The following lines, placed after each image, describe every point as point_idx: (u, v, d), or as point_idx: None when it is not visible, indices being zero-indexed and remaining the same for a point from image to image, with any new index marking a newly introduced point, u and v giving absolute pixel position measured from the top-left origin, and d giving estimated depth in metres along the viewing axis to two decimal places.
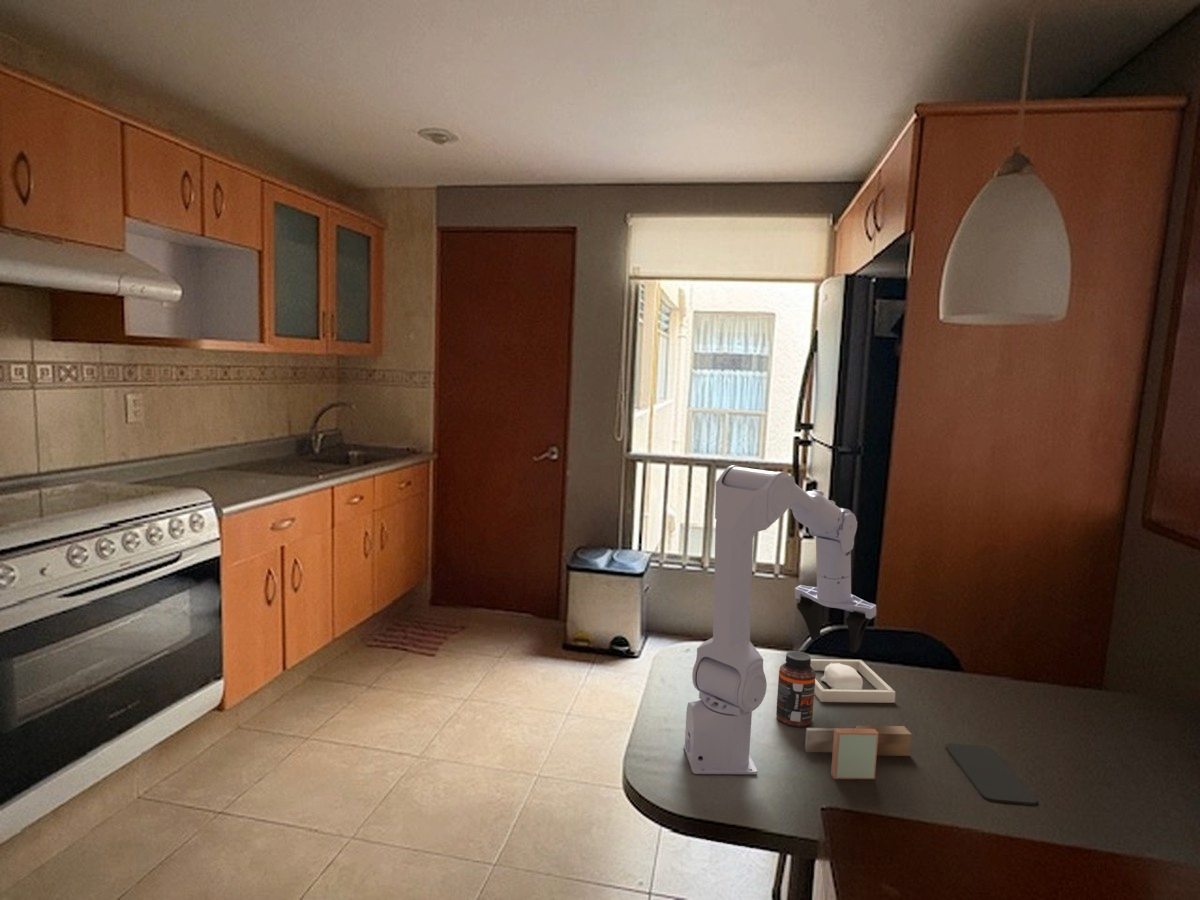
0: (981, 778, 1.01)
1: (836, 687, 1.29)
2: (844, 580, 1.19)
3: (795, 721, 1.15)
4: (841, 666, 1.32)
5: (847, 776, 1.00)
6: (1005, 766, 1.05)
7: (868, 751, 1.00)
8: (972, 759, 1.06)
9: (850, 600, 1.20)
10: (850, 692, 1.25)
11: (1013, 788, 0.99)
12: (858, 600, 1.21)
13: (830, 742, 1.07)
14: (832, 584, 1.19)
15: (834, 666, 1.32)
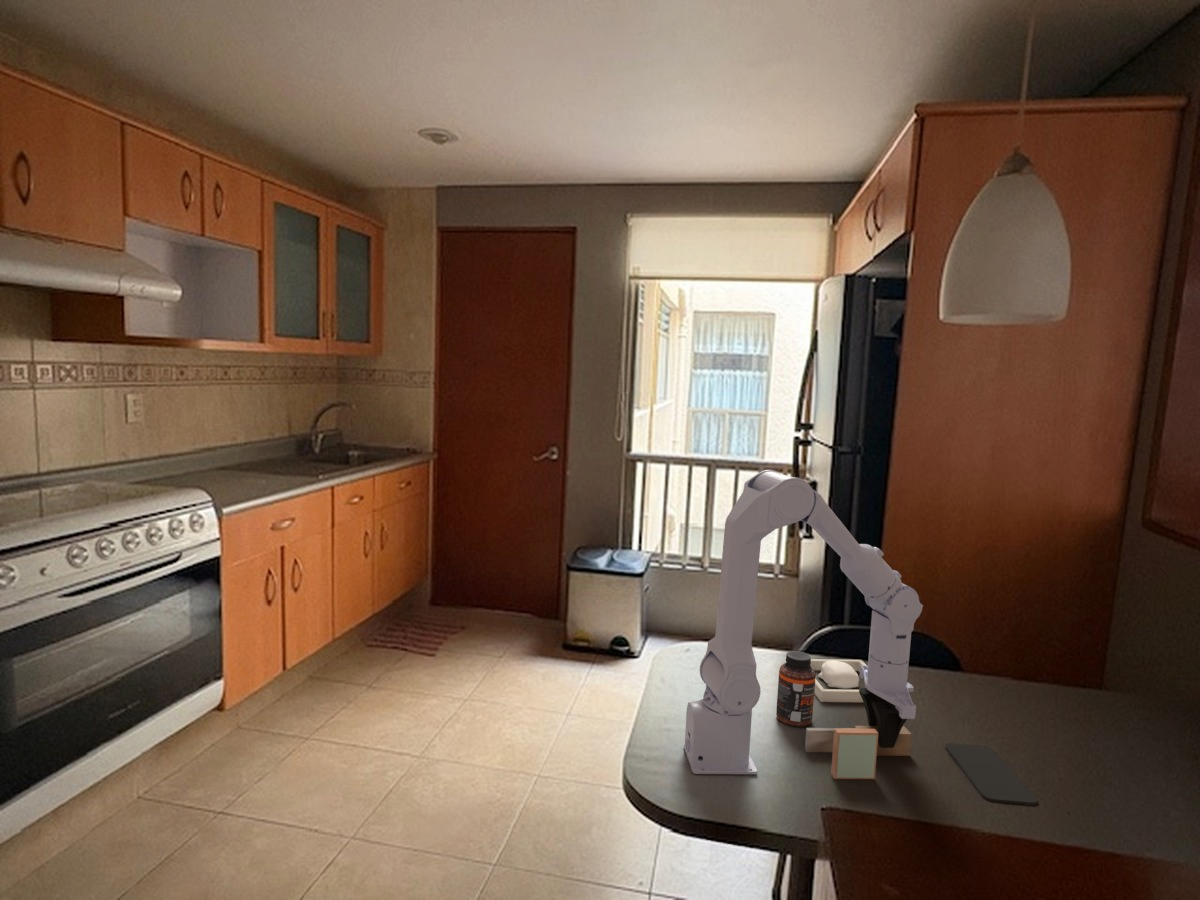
0: (981, 778, 1.01)
1: (832, 683, 1.31)
2: (889, 666, 1.04)
3: (795, 721, 1.15)
4: (838, 663, 1.34)
5: (847, 776, 1.00)
6: (1005, 765, 1.05)
7: (868, 751, 1.00)
8: (972, 759, 1.06)
9: (896, 693, 1.04)
10: (850, 692, 1.25)
11: (1013, 788, 0.99)
12: (907, 698, 1.04)
13: (830, 742, 1.07)
14: (875, 666, 1.06)
15: (831, 663, 1.34)
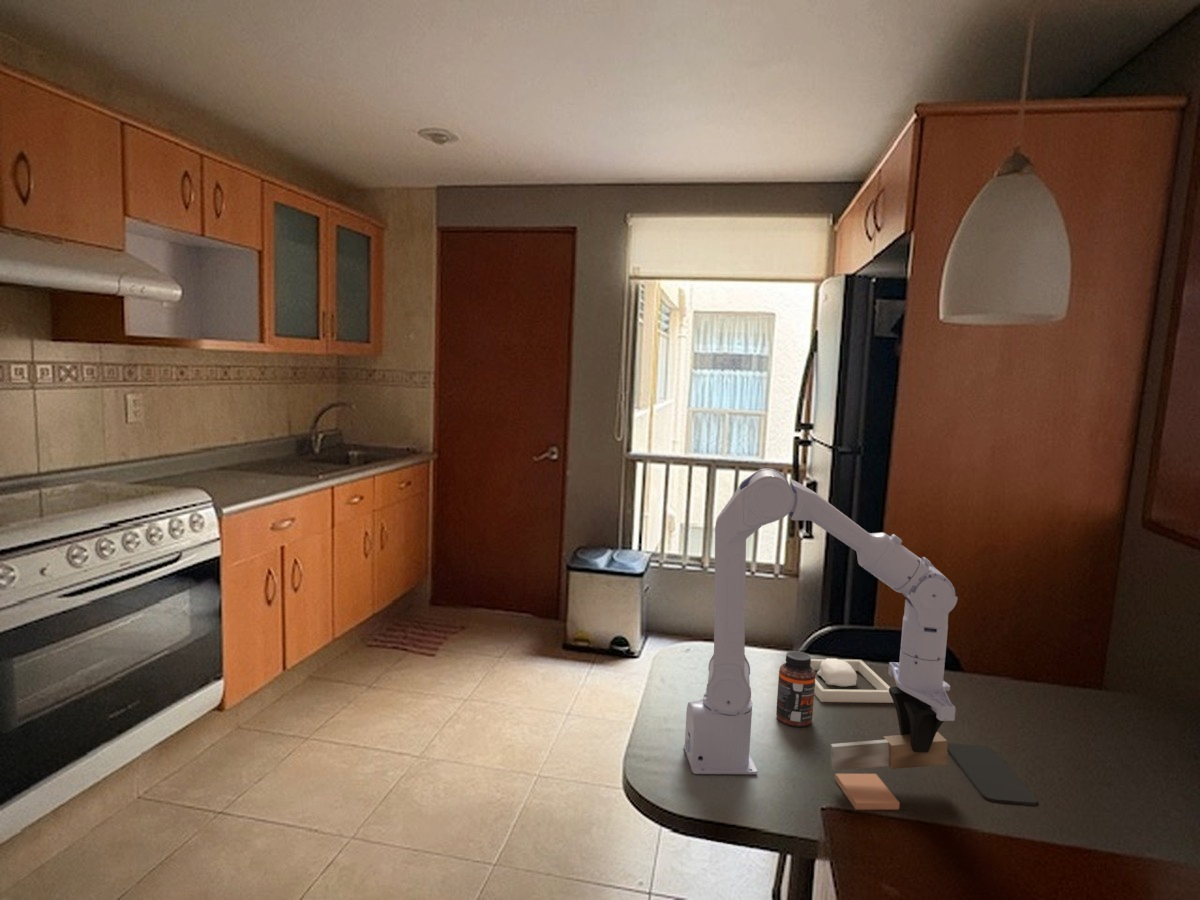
0: (981, 778, 1.01)
1: (830, 681, 1.32)
2: (924, 662, 0.94)
3: (795, 721, 1.15)
4: (836, 661, 1.35)
5: None
6: (1005, 765, 1.05)
7: None
8: (972, 759, 1.06)
9: (932, 692, 0.94)
10: (850, 692, 1.25)
11: (1013, 788, 0.99)
12: (944, 697, 0.94)
13: (859, 758, 0.98)
14: (908, 662, 0.96)
15: (829, 661, 1.35)
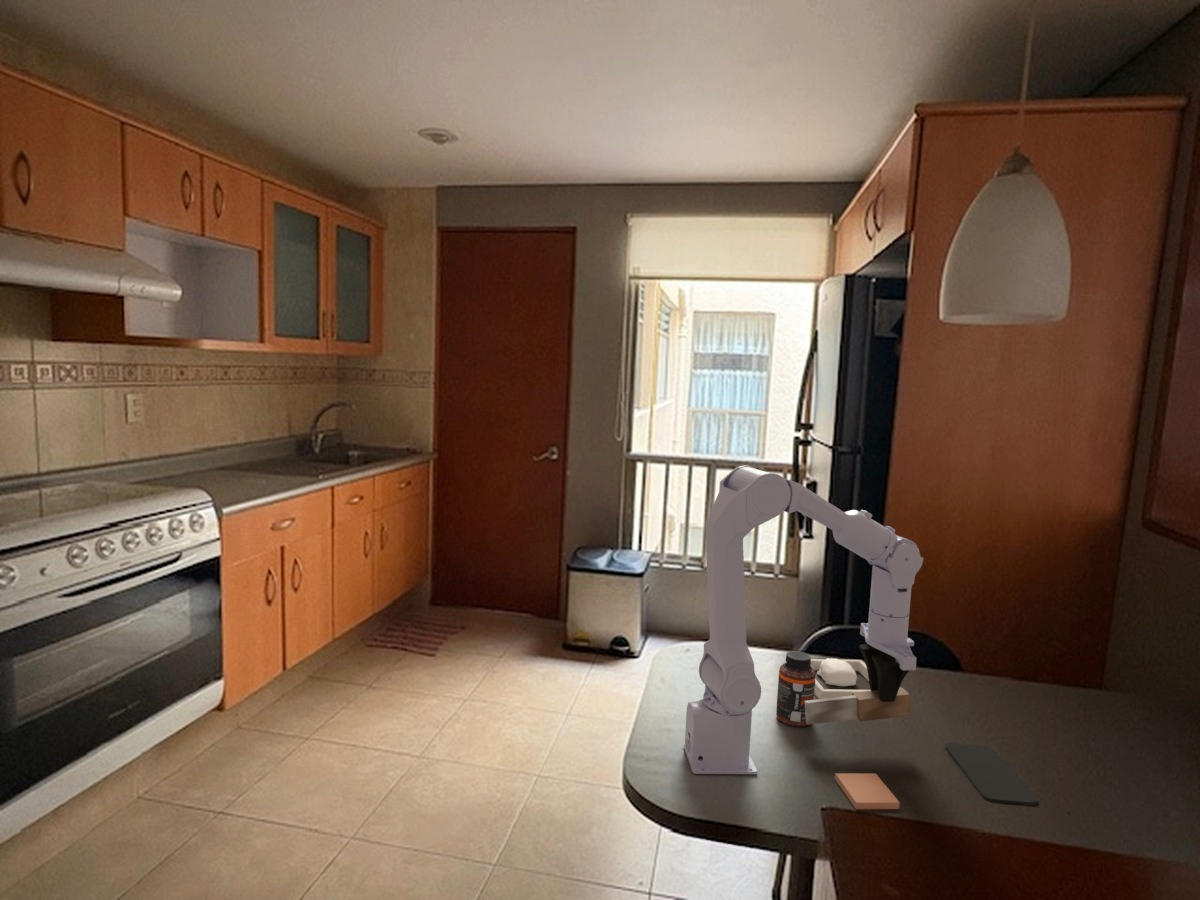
0: (981, 778, 1.01)
1: (829, 681, 1.32)
2: (889, 619, 1.05)
3: (795, 721, 1.15)
4: (836, 661, 1.35)
5: None
6: (1005, 765, 1.05)
7: None
8: (972, 759, 1.06)
9: (896, 646, 1.05)
10: (850, 692, 1.25)
11: (1013, 788, 0.99)
12: (908, 651, 1.04)
13: (830, 712, 1.08)
14: (875, 620, 1.06)
15: (829, 661, 1.35)
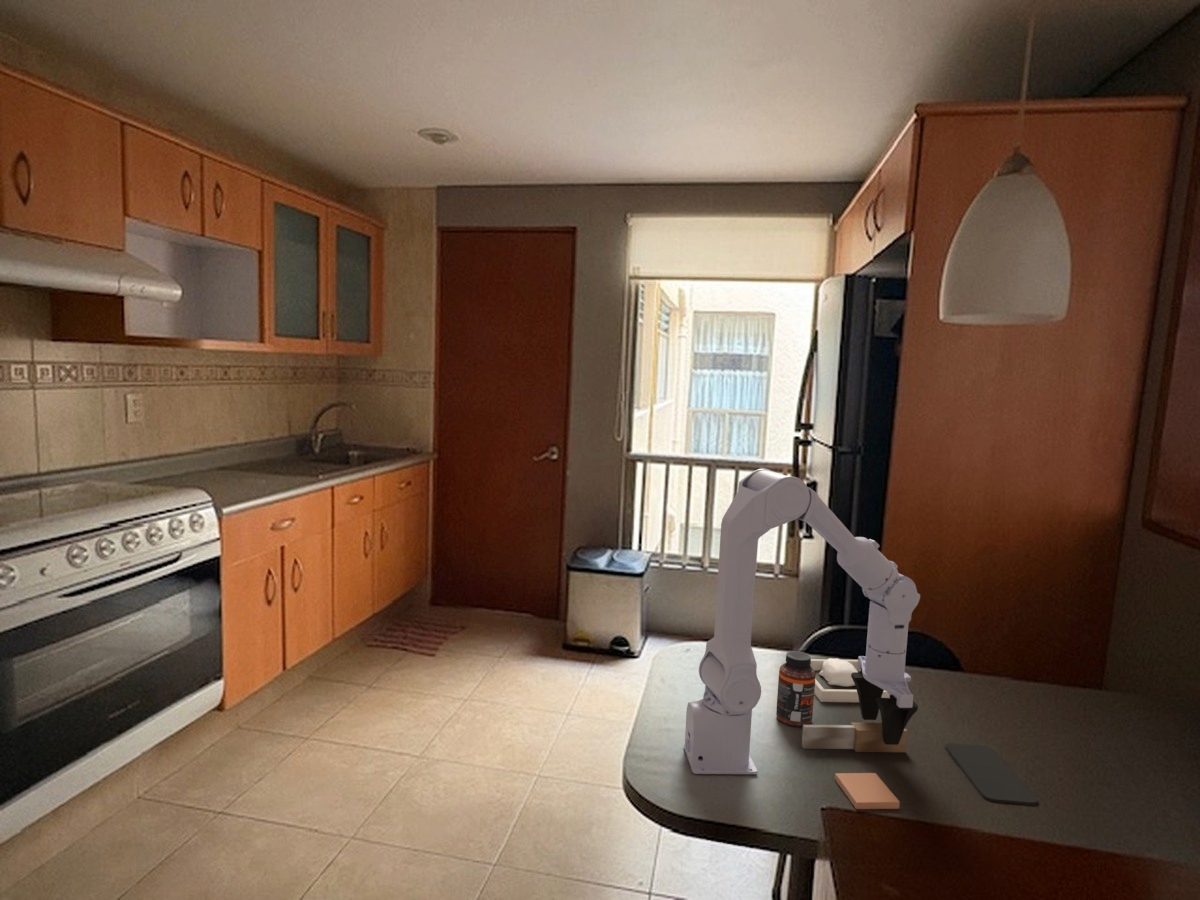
0: (981, 778, 1.01)
1: (832, 681, 1.32)
2: (886, 656, 1.05)
3: (795, 721, 1.15)
4: (839, 661, 1.35)
5: None
6: (1005, 765, 1.05)
7: None
8: (972, 759, 1.06)
9: (893, 682, 1.05)
10: (850, 692, 1.25)
11: (1013, 788, 0.99)
12: (905, 687, 1.05)
13: (827, 739, 1.08)
14: (873, 655, 1.07)
15: (832, 661, 1.35)
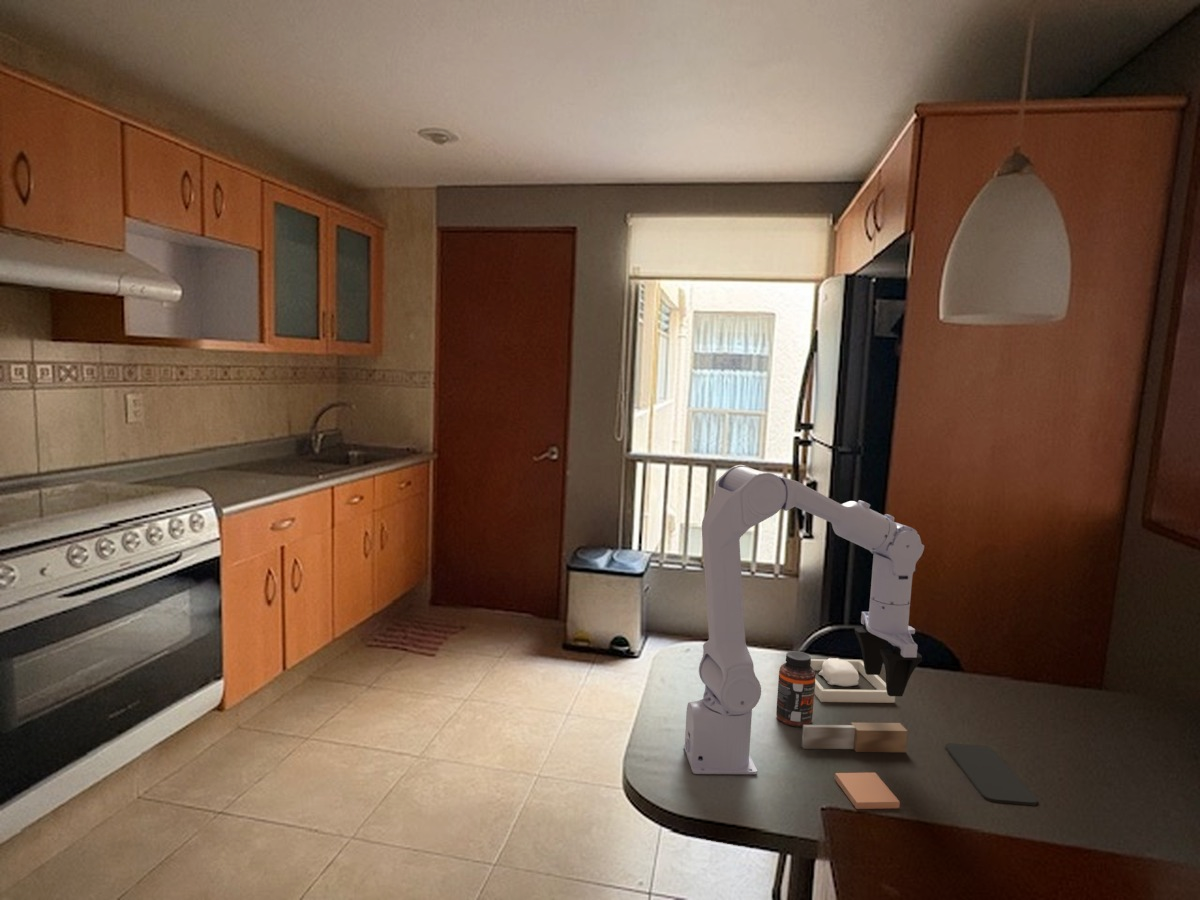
0: (981, 778, 1.01)
1: (832, 681, 1.32)
2: (890, 607, 1.04)
3: (795, 721, 1.15)
4: (838, 661, 1.35)
5: None
6: (1005, 765, 1.05)
7: None
8: (972, 759, 1.06)
9: (897, 634, 1.04)
10: (850, 692, 1.25)
11: (1013, 788, 0.99)
12: None
13: (827, 739, 1.08)
14: (876, 607, 1.06)
15: (831, 661, 1.35)
